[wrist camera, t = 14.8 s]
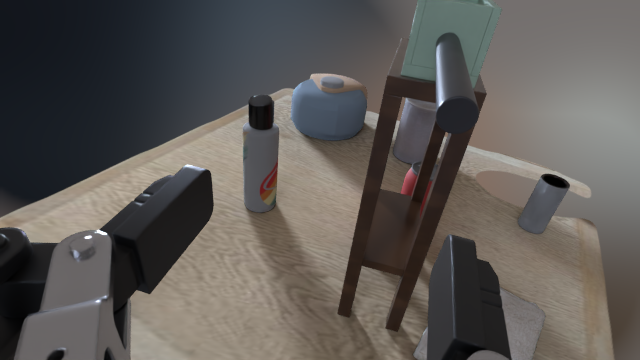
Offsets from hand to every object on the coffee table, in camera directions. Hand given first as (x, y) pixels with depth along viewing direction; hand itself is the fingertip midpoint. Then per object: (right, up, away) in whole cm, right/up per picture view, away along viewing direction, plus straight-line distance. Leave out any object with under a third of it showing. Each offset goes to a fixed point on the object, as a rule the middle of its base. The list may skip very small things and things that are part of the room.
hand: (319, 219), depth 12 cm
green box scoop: (+9, +8, +16) cm, 20 cm away
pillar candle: (+22, +7, +75) cm, 78 cm away
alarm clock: (+2, +16, +84) cm, 86 cm away
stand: (+8, -13, +42) cm, 45 cm away
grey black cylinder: (+40, -7, +56) cm, 69 cm away
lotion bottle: (-11, -3, +54) cm, 55 cm away
